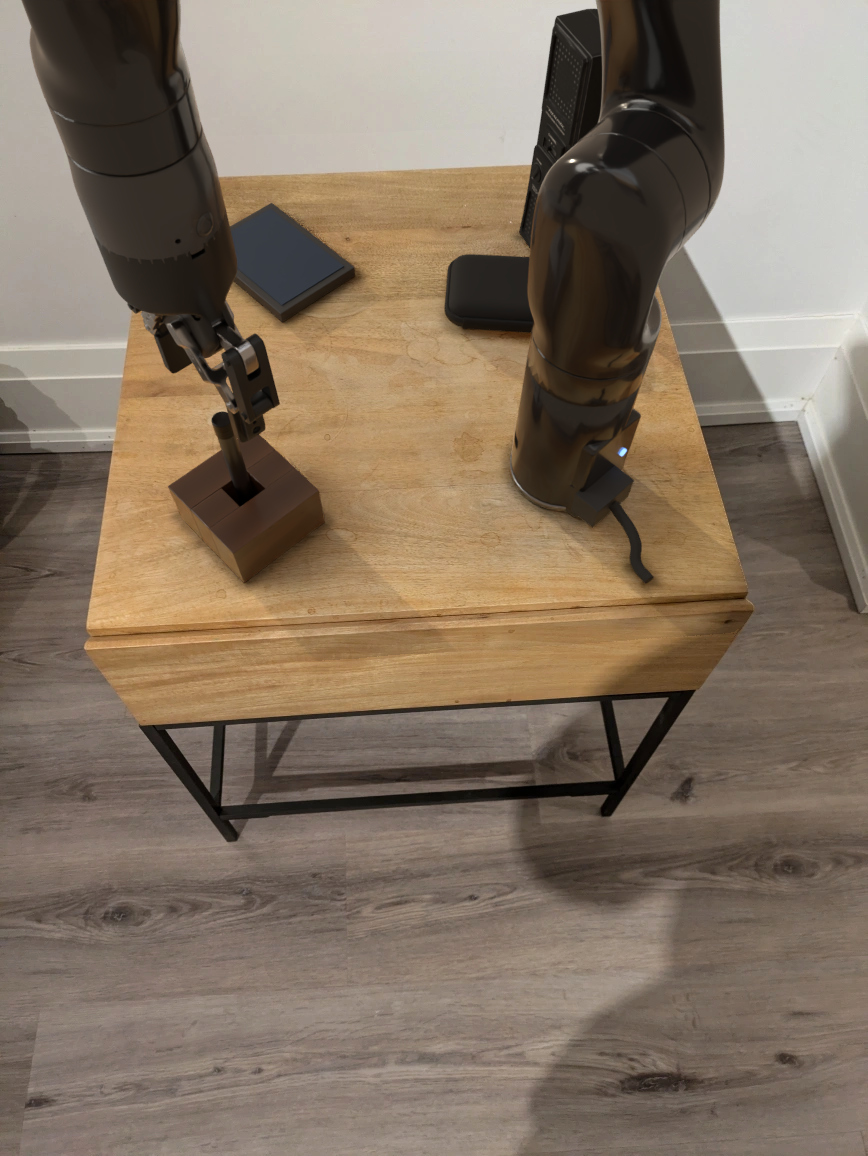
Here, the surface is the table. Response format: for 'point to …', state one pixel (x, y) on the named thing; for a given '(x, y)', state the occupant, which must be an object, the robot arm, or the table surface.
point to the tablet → (284, 262)
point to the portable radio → (566, 98)
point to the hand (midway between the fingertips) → (215, 399)
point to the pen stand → (249, 507)
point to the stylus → (232, 456)
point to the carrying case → (488, 293)
